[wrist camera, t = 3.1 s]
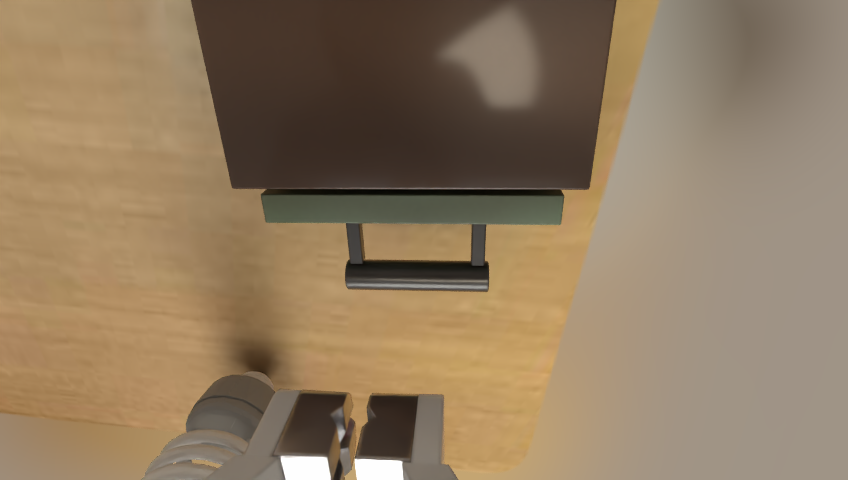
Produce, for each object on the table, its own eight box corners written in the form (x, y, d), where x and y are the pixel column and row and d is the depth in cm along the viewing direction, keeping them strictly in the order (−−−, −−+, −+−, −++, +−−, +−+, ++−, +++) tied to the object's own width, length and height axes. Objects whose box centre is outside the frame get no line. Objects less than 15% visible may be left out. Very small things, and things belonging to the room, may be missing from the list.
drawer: (526, 242, 25) (549, 320, 19) (327, 240, 26) (283, 313, 20) (564, -202, 17) (628, -340, 11) (272, -184, 18) (164, -302, 11)
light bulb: (229, 402, 34) (120, 581, 23) (215, 342, 31) (86, 510, 21) (303, 407, 33) (228, 591, 23) (295, 347, 31) (207, 521, 20)
